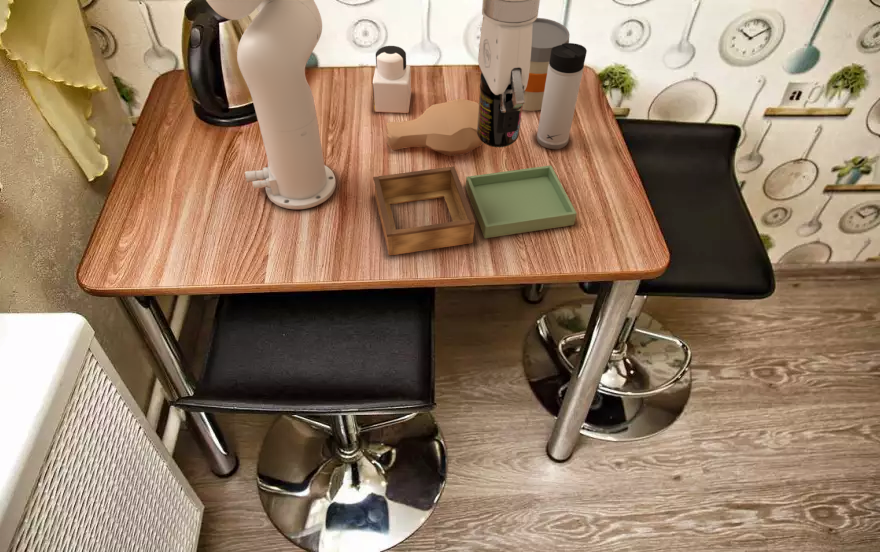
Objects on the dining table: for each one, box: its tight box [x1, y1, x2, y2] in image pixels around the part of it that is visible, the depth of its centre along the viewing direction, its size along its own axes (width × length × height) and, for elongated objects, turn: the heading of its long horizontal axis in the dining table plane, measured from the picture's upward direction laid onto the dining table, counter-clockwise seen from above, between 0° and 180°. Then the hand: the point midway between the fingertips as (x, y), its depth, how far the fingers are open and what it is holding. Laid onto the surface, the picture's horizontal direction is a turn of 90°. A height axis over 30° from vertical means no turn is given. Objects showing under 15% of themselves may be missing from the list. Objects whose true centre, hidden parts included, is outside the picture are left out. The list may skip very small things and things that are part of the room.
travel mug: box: [536, 42, 588, 150], centre depth 117 cm, size 6×7×20 cm
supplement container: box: [477, 72, 525, 148], centre depth 95 cm, size 7×7×10 cm
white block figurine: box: [372, 45, 412, 114], centre depth 127 cm, size 7×7×12 cm
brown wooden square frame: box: [372, 166, 476, 256], centre depth 107 cm, size 15×15×5 cm
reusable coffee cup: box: [522, 17, 570, 112], centre depth 128 cm, size 13×12×15 cm
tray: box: [465, 164, 578, 239], centre depth 111 cm, size 16×13×3 cm
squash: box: [385, 98, 484, 157], centre depth 120 cm, size 11×20×9 cm, turn 94°
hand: (499, 116), depth 96 cm, fingers closed on supplement container, 6 cm apart
